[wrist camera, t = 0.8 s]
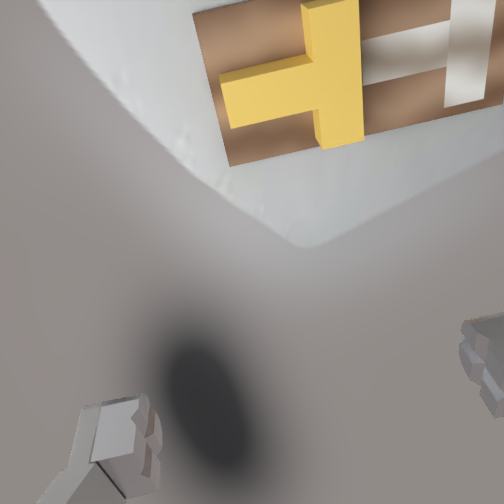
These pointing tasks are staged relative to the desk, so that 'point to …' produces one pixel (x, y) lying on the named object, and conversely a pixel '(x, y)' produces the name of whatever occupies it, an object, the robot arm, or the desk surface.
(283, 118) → the board
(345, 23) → the t block
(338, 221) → the desk surface
